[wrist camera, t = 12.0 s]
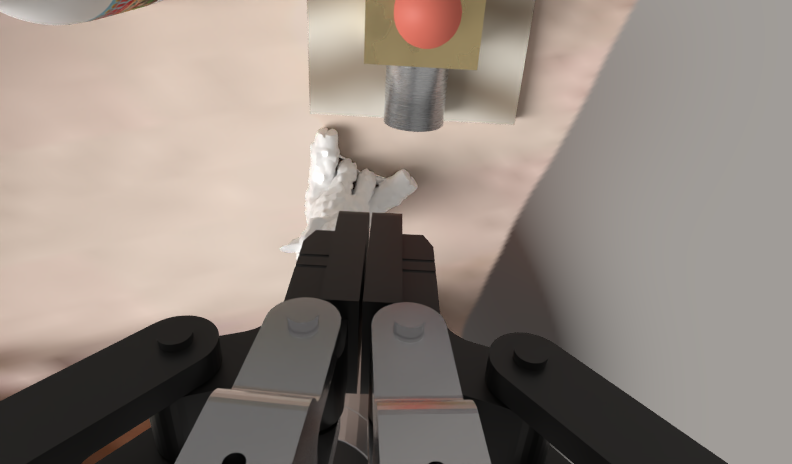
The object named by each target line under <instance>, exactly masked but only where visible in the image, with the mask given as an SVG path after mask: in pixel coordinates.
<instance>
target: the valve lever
mask: <svg viewBox="0 0 792 464" xmlns="http://www.w3.org/2000/svg"><path fill="white" fill-rule="evenodd" d="M461 17H462V5H461V1H460V0H395V4H394V21H395V25H396V28H397V30H398V32H399V34H400V35H401V36H402V38H403V39H404V40H405V41H407V42H408V43H409V44H411V45H413V46H415V47H418V48H422V49H432V48H436V47H439V46H441V45H443V44H445V43H446V42H448V41H449V40H450V39H451V38H452V37H453V36H454V34H455V33H456V31H457V30H458V27H459V25H460V22H461Z"/></svg>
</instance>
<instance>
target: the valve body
mask: <svg viewBox="0 0 792 464" xmlns="http://www.w3.org/2000/svg"><path fill="white" fill-rule="evenodd" d="M460 1H461V5H462V17H461V22H460V25H459V27H458V30H457V31H456V33H455V34H454V36H453V37H452V38H451V39H450V40H449V41H448V42H446V43H445V44H443V45H441V46H439V47H436V48H432V49H422V48H418V47H415V46H413V45H411V44H409V43H408V42H407V41H405V40H404V39H403V38H402V36H401V35H400V34H399V32H398V30H397V28H396V25H395V21H394V4H395V0H365V38H364V64H375V65H386V82H385V105H384V122H385V124H387V125H388V126H390V127H393V128H396V129H399V130H405V131H414V132H424V131H433V130H436V129H439V128H441V127H442V126H443V121H444V111H445V101H446V91H447V81H448V71H449V69H462V70H477V69H478V61H479V53H480V45H481V37H482V29H483V21H484V13H485V5H486V0H460Z"/></svg>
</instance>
